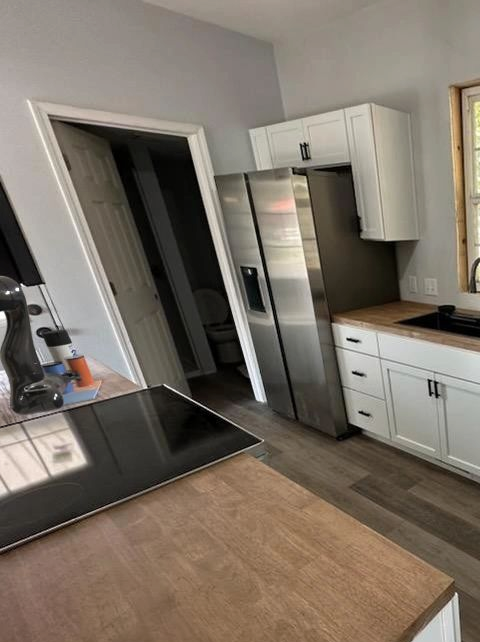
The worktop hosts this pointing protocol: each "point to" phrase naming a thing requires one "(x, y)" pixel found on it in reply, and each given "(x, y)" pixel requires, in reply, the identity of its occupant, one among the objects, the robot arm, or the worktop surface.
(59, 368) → the blue canister
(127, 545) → the worktop surface
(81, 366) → the terracotta canister
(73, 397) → the sorting board
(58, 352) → the spray can
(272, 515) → the worktop surface
